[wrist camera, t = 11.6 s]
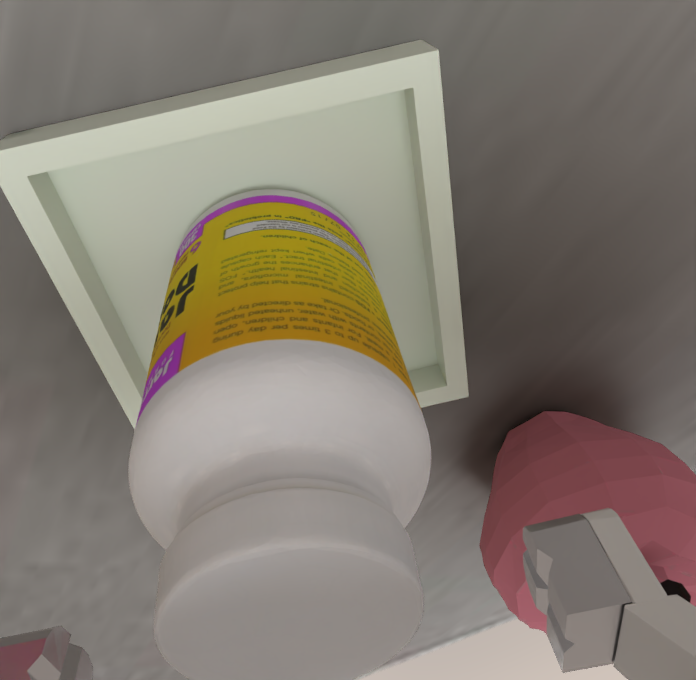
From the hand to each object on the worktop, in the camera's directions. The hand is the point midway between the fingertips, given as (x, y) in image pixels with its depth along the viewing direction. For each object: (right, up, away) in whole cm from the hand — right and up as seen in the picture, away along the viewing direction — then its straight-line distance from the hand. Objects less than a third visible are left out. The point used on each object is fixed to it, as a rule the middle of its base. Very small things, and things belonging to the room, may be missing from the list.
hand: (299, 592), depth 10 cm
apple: (+10, 0, +18) cm, 21 cm away
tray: (-2, +7, +11) cm, 13 cm away
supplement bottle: (-2, +7, +10) cm, 13 cm away
